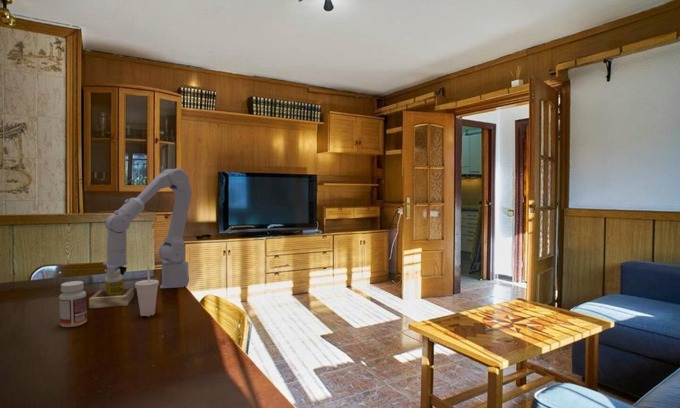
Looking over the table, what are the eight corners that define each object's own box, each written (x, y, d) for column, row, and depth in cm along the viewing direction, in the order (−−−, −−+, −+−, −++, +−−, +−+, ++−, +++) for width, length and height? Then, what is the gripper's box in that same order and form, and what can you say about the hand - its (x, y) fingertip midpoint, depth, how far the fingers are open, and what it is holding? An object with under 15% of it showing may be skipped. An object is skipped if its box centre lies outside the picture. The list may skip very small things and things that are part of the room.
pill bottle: (88, 318, 112) (87, 279, 111) (85, 325, 106) (84, 284, 106) (62, 321, 109) (61, 281, 109) (57, 329, 104) (56, 287, 103)
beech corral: (134, 296, 134) (133, 287, 134) (126, 305, 124) (126, 296, 124) (99, 298, 131) (99, 289, 131) (89, 308, 121) (89, 298, 121)
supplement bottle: (121, 290, 136) (119, 265, 134) (127, 296, 133) (125, 271, 130) (104, 295, 132) (101, 269, 130) (110, 301, 129) (107, 275, 126)
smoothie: (164, 312, 117) (163, 266, 117) (145, 319, 111) (144, 270, 111) (149, 309, 120) (148, 264, 119) (130, 316, 114) (129, 268, 113)
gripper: (109, 246, 140) (109, 284, 141) (96, 253, 126) (96, 295, 127) (131, 246, 142) (131, 283, 142) (121, 253, 128) (120, 294, 128)
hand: (116, 289), depth 135 cm, fingers closed, pressing on supplement bottle
